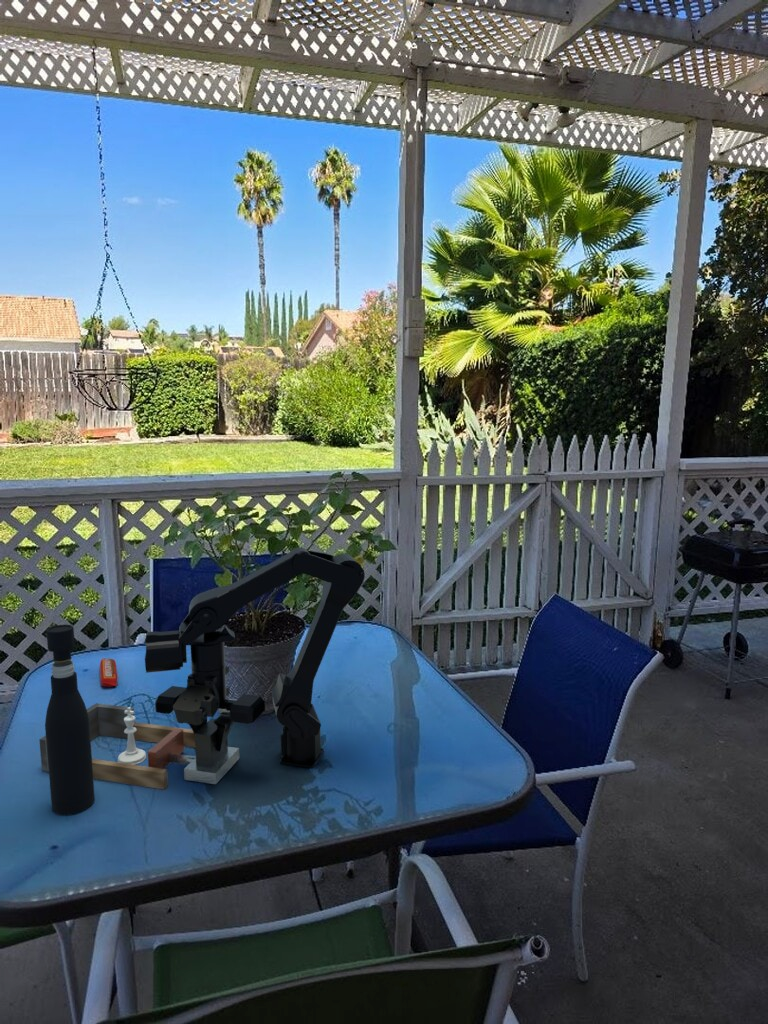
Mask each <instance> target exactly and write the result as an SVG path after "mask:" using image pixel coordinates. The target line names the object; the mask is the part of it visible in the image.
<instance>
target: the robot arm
mask: <svg viewBox="0 0 768 1024" xmlns="http://www.w3.org/2000/svg"><path fill="white" fill-rule="evenodd" d="M363 568H364V567H363V566H362V565H361V564H360V563H359V562H358V561H357V560H356V559H355V558H354V557H353V556H352V555H350V554H348V553H337V554H336V555H332V554H329V553H326V552H322V551H315V550H314V551H313V550H311V549H310V550H309V549H307V548H303V547H295V548H293V549H291V551H290V552H288V553H286V554H285V555H283V556H281V557H279V558H277V559H275V560H273V561H272V562H270V563H268V564H266V565H264V566H263V567H261V568H259V569H258V570H256V571H254V572H251V573H250V574H248V575H246V576H244V577H242V578H241V579H239V580H237V581H235V582H234V583H229V584H227V585H223V586H218V587H214V588H211V589H208V590H206V591H203V592H200V593H198V594H195V596H194V597H192V599H191V600H190V603H189V606H188V614H187V615H186V616H185V618H184V619H183V621H182V622H181V624H180V625H179V626H178V627H179V628H178V629H179V630H170V631H169V630H168V631H148V632H146V635H145V655H144V666H145V672H146V673H147V674H148V673H149V674H150V673H159V672H169V671H178V670H179V671H180V670H181V669H182V668H184V664H187V663H188V649H187V646H190V661H191V663H190V664H191V666H190V667H191V668H190V669H191V673H190V674H189V675H187V680H186V682H187V683H186V686H185V687H184V686H176V685H175V686H174V685H171V686H170V687H169V688H167V689H166V690H164V691H163V692H161V693H160V694H159V695H158V696H156V698H155V702H154V706H155V707H154V708H155V713H158V714H166V715H170V714H171V713H172V712H173V713H174V716H175V719H176V721H177V723H178V724H188V726H189V727H190V729H192V730H193V732H194V735H195V733H196V732H197V731H198V730H199V729H200V728H201V727H203V726H204V725H205V724H206V723H207V722H208V718H209V717H210V718H213V717H214V716H215V715H216V713H217V712H218V711H219V716H218V717H217V718H215V719H216V720H215V721H214V723H215V724H216V725H217V746H218V751H221V750H222V749H223V747H224V745H225V742H226V739H227V740H228V737H229V733H230V731H231V729H232V726H233V724H234V723H240V724H246V725H247V724H252V723H254V722H255V721H256V720H258V718H259V717H260V716H261V715H262V714H263V713H264V712H265V711H266V701H265V700H264V697H262V695H258V694H257V695H255V694H248V693H243V694H242V695H241V696H239V697H238V698H229V699H227V697H228V696H229V695H230V694H231V693H230V688H228V687H227V682H226V681H227V679H226V678H227V677H226V676H227V674H229V673H230V667H229V666H226V655H225V654H226V653H225V650H226V649H225V643H229V642H235V641H236V635H235V632H234V631H233V630H231V629H230V628H228V626H227V624H226V623H228V622H229V621H230V620H231V619H232V618H233V617H234V616H235V615H236V614H237V613H238V612H239V611H240V610H241V609H242V608H243V607H244V606H246V605H248V604H250V603H251V602H253V601H255V600H257V599H259V598H260V597H263V596H264V595H266V594H267V593H270V592H271V591H273V590H275V589H276V588H278V587H280V586H282V585H284V584H286V583H288V582H289V581H291V580H293V579H295V578H296V577H298V576H300V575H307V576H311V577H313V578H315V579H318V580H321V581H323V583H322V591H321V599H320V602H319V604H318V606H317V609H316V611H315V613H314V616H313V619H312V621H311V623H310V625H309V629H308V631H307V633H306V635H305V638H304V640H303V642H302V645H301V648H300V650H299V652H298V655H297V658H296V660H295V662H294V665H293V667H292V668H291V670H289V672H288V673H287V674H284V673H281V672H279V673H278V676H277V681H276V683H275V685H274V687H273V688H272V689H271V691H270V692H271V697H272V704H273V709H274V711H275V715H276V718H277V721H278V722H279V723H280V725H282V726H283V727H282V733H281V734H280V755H281V756H282V757H280V760H279V764H281V765H288V766H295V767H303V768H309V769H311V768H314V767H315V766H316V764H317V763H318V762H319V760H320V758H321V757H322V755H323V754H324V752H325V749H324V748H323V747H322V746H321V745H322V743H321V742H322V739H321V737H322V734H321V733H322V732H321V727H322V724H321V721H320V719H319V718H320V717H319V716H318V714H317V711H316V709H315V706H314V704H313V703H312V699H313V689H314V688H313V687H314V681H315V678H316V677H317V673H318V671H319V668H320V666H321V663H322V661H323V659H324V657H325V654H326V652H327V649H328V647H329V645H330V642H331V640H332V636H333V634H334V632H335V630H336V627H337V625H338V622H339V621H340V618H341V616H342V612H343V610H344V609H345V608H346V606H348V604H349V603H350V602H351V601H352V600H353V599H354V598H355V597H356V595H357V594H358V592H359V590H360V589H361V587H362V585H363V583H364V581H365V577H366V575H365V571H364V569H363ZM321 747H322V748H321Z"/></svg>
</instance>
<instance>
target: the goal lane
mask: <svg viewBox="0 0 768 1024" xmlns="http://www.w3.org/2000/svg"><path fill="white" fill-rule="evenodd" d="M128 707H129V706H121V705H113V704H112V705H111V704H106V703H105V704H103V703H94V704H93V705H91V706H90V707H88V708H86V709H87V713H88V716H89V726H90V740H91V742H92V741H93V740H95V739H96V738H97V737H99V736H104V737H111V738H119V739H124V740H125V739H126V740H128V734H126V733H124V730H125V729H126V728H127V726H126V724H125V722H124V718H125V717H126V716H128V714H125V713H124V711H125V710H127V708H128ZM131 711H134V712H135V708H134V707H131ZM131 715H132V716H135V713H134V714H131ZM135 721H136V720H135ZM135 721H134V725H133V727H135V728H136V732H134V733H133V734H134V740H135V741H141V742H150V743H154V744H157V743H159V742H160V741H161V740H162V739H163V738H165V737H166V736H167V735H168V734H169V733H171V732H172V731H173V730H174V729H175V728H176V729H183V738H184V748H194V749H195V735H194V732H193V730H192V728H190V729H189V728H181V727H175V726H168V725H167V726H165V725H161V724H151V723H144V722H135ZM38 741H39V751H40V763H41V771H42V772H48V773H49V768H48V756H47V744H46V735H44V736H42V737H41V738H39V740H38ZM92 768H93V780H98V781H105V782H112V783H113V782H114V783H118V784H125V785H132V786H137V787H138V786H139V787H145V788H150V789H151V788H152V789H158V790H165V789H166V788H167V787H168V786H169V782H168V780H169V778H168V769H167V768H164V769H160V768H153V767H149V766H146V765H145V766H144V765H138V764H135V765H132V764H125V763H118V761H112V760H111V761H109V760H103V759H97V758H92Z"/></svg>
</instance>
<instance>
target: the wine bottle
mask: <svg viewBox="0 0 768 1024" xmlns="http://www.w3.org/2000/svg"><path fill="white" fill-rule="evenodd" d="M45 633H46V643H47V650H48V651H49V652H51V653H52V655H53V658H52V661H53V664H52V665H51V668H50V669H51V676H50V687H51V695H50V698H49V700H48V706H47V708H46V713H45V721H44V722H45V723H44V730H45V736H46V744H47V756H48V768H49V772H48V778H49V788H50V789H49V791H50V792H49V793H50V801H51V802H50V803H51V809H52V812H53V813H54V814H55V815H59V816H71V815H75V814H79V813H82V812H85V811H86V810H88V809H89V808H91V807H92V806H93V804H94V803H95V800H96V798H95V784H94V781H95V780H94V779H93V768H92V759H93V758H92V741H91V740H90V726H89V716H88V713H87V709H88V708H87V706H86V704H85V701H84V699H83V696H82V695H81V693H80V691H79V689H78V688H79V687H78V676H77V672H76V671H75V670H76V669H75V663H74V661H73V660H72V654H71V650H73V649H74V648H75V647H76V643H75V642H76V641H75V629H74V626H73V625H72V624H57V625H53V626H50V627H48V628H47V629H46V631H45Z"/></svg>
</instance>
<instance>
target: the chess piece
mask: <svg viewBox="0 0 768 1024" xmlns="http://www.w3.org/2000/svg"><path fill="white" fill-rule="evenodd" d="M127 707H128V708H127V710H125V711H124V713H125V714H128V716H126V717H125V718H124V722H125V724H126V726H127V728H126V729H125V730H124V733H126V734H128V739H126V741H127V743H126V749H125V751H123V752H121V753H120V754H119V755H118V757H117V762H118V763H125V764H132V765H138V764H140V763H142V762H144V761H145V760H146V759H147V755H146V751H145V750H143V749H141V748H138V747H137V746H136V745H137V744H136V740H134V734H133V733H134V732H136V728H135V727H133V725H134V721H136V716H135V710H134V711H131V708H132V707H129V706H127ZM131 714H134V716H132V715H131Z"/></svg>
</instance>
